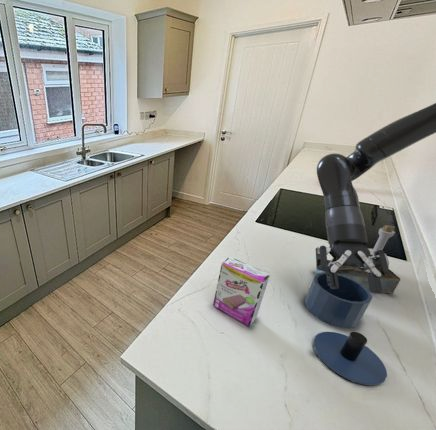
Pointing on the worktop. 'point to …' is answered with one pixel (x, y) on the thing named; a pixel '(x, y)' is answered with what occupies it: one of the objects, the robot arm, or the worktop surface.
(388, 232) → the potion bottle
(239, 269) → the candy bar box
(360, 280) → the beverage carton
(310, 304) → the pot
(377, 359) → the lid
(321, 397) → the worktop surface
